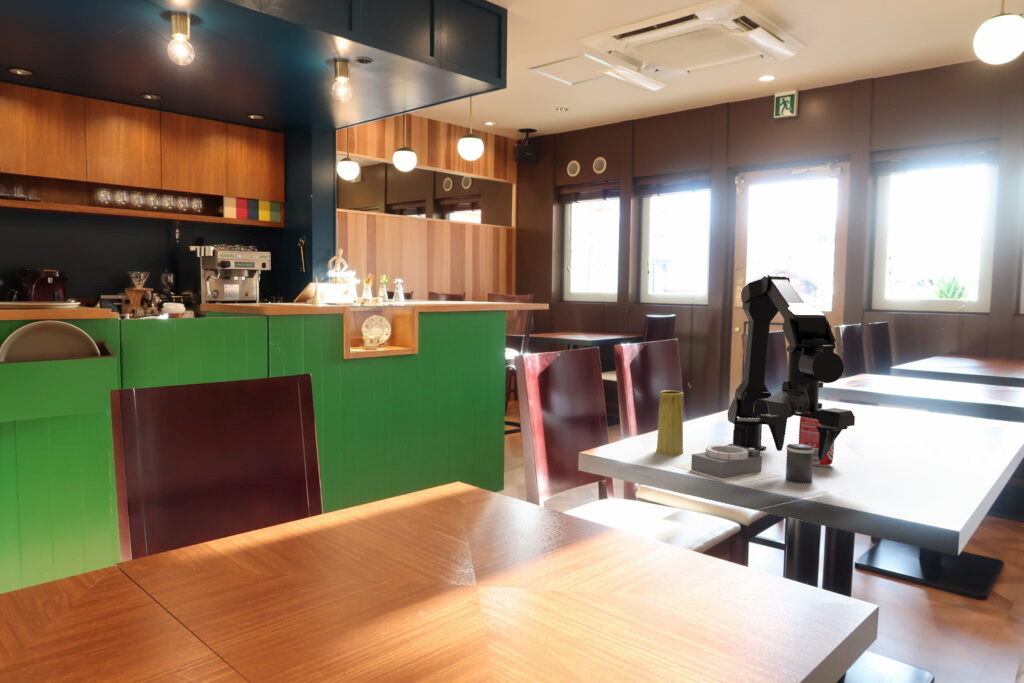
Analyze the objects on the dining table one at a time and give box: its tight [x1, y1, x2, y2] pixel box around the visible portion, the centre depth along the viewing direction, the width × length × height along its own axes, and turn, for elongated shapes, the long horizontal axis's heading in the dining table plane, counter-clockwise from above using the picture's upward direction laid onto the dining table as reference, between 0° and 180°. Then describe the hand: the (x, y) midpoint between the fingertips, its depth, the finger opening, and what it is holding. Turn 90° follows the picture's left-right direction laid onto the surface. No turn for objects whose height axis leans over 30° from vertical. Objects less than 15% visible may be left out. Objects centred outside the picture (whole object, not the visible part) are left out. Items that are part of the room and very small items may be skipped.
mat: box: [674, 462, 782, 485], centre depth 140 cm, size 14×16×1 cm
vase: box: [655, 390, 684, 456], centre depth 156 cm, size 6×6×14 cm
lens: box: [785, 443, 814, 484], centre depth 134 cm, size 5×5×7 cm
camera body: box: [690, 443, 763, 479], centre depth 140 cm, size 12×8×5 cm
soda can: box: [798, 408, 835, 468], centre depth 148 cm, size 7×7×12 cm
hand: (799, 455), depth 134 cm, fingers open, 9 cm apart
